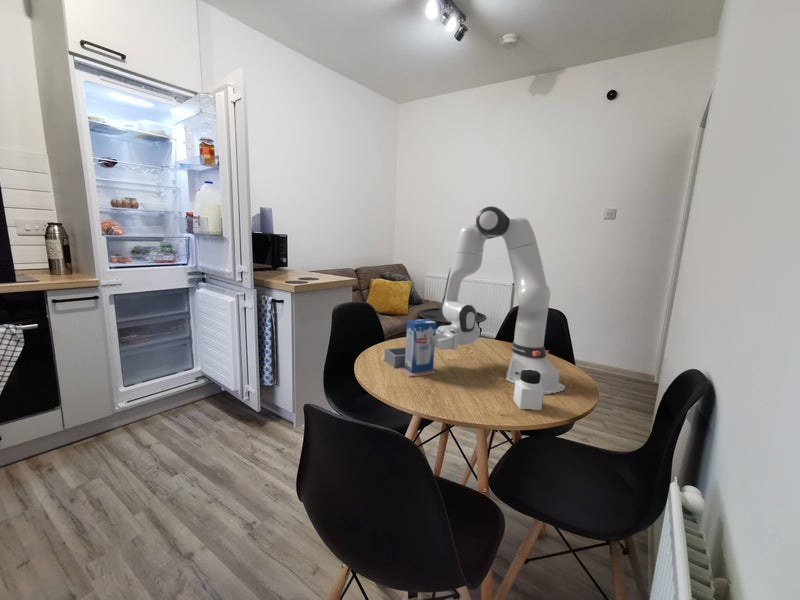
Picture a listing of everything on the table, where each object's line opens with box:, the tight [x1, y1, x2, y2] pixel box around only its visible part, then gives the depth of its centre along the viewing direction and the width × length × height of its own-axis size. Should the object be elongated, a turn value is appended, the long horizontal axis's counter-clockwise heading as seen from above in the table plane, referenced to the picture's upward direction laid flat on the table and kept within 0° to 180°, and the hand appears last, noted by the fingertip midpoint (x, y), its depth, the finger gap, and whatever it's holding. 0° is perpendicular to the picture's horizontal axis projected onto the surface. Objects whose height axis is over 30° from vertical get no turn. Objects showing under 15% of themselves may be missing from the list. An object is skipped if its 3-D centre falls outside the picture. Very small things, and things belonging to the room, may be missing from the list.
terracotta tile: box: [397, 367, 436, 378], centre depth 140 cm, size 9×12×1 cm
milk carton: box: [404, 318, 437, 373], centre depth 139 cm, size 10×6×20 cm, turn 117°
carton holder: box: [383, 346, 406, 369], centre depth 149 cm, size 10×14×5 cm
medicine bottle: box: [512, 369, 545, 411], centre depth 114 cm, size 7×7×12 cm
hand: (416, 338), depth 137 cm, fingers closed
